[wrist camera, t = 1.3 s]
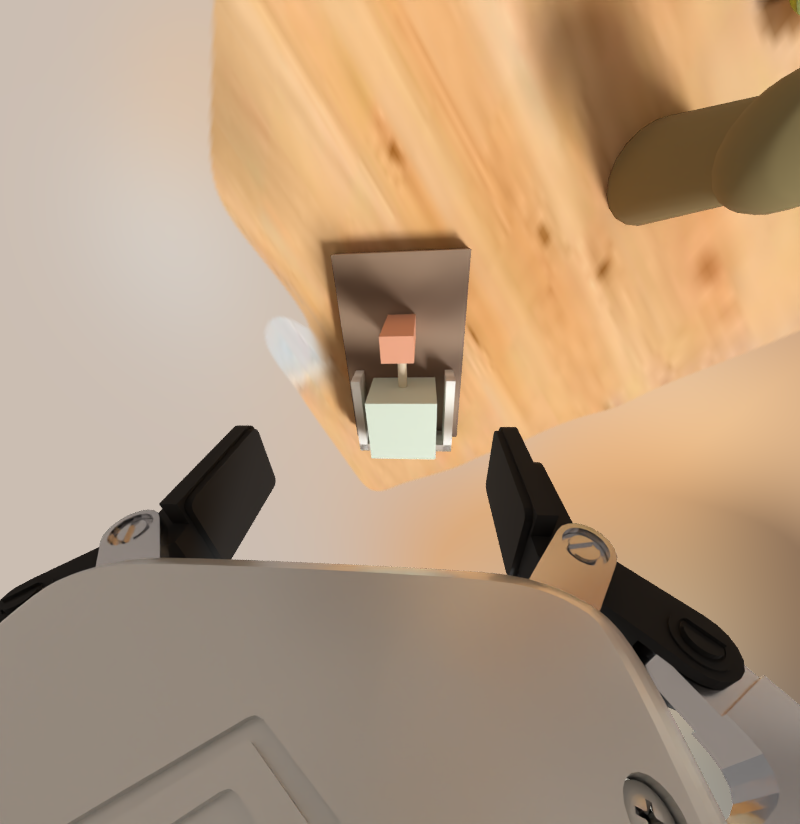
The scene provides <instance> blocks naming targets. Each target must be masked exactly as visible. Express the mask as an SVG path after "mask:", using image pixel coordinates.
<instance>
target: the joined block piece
mask: <svg viewBox="0 0 800 824" xmlns="http://www.w3.org/2000/svg"><path fill="white" fill-rule="evenodd" d="M415 343H416V314H396V315H388V316H387V318H386V321H385V323H384V325H383V328H382V330H381V333H380V335H379V345H380V358H381V364H398V378H373V381H372V384H371V387H370V390H369V393H368V396H367V399H366V402H365V409H366V417H367V425H368V433H369V441H370V450H371V458H386V459H435V455H436V423H437V396H436V382H435V377H407V363H414V356H415Z"/></svg>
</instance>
